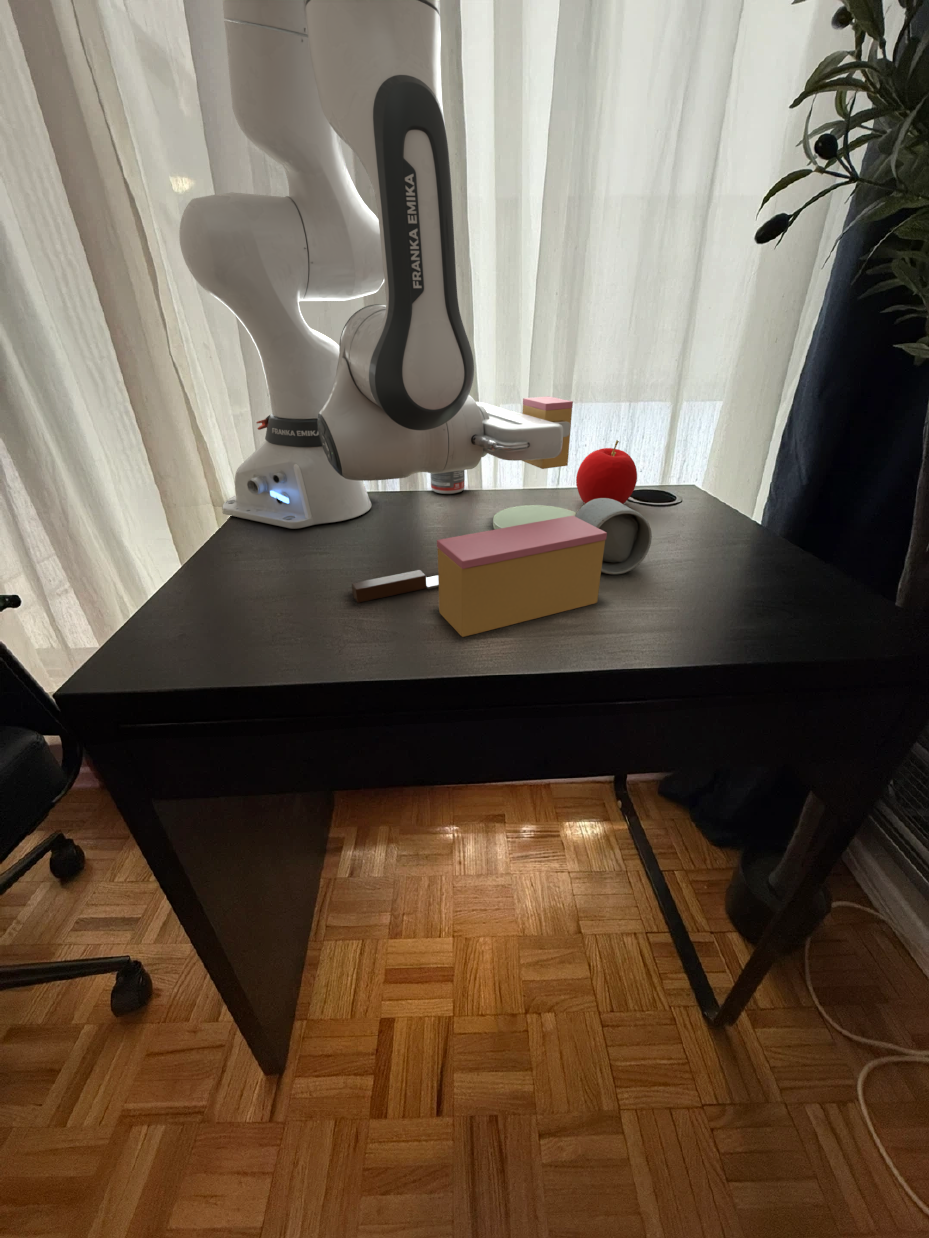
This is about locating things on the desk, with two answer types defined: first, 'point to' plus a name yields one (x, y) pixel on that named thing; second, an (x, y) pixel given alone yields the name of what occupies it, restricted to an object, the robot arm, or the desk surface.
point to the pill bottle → (448, 482)
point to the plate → (528, 515)
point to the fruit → (606, 475)
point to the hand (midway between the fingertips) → (551, 423)
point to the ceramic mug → (618, 533)
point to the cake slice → (550, 411)
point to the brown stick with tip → (392, 585)
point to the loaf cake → (518, 573)
